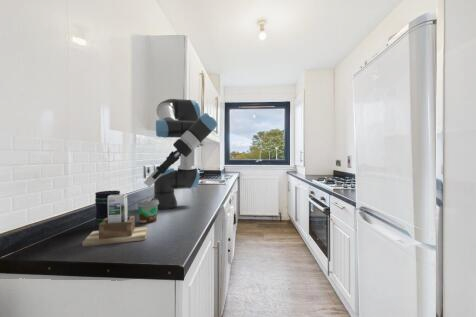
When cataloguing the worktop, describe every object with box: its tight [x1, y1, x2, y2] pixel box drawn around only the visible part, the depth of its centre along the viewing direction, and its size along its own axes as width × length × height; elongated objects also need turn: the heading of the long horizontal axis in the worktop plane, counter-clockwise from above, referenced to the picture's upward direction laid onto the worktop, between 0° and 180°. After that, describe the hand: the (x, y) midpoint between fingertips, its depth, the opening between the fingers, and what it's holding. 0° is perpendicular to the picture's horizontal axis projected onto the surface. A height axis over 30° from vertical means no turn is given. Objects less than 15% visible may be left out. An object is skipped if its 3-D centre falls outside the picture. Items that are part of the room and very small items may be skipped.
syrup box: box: [108, 193, 128, 223], centre depth 92 cm, size 6×6×14 cm
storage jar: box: [94, 190, 121, 230], centre depth 108 cm, size 10×10×15 cm
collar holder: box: [81, 215, 148, 247], centre depth 92 cm, size 13×20×6 cm, turn 107°
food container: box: [137, 197, 159, 225], centre depth 114 cm, size 12×6×10 cm, turn 168°
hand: (147, 183), depth 95 cm, fingers open, 13 cm apart
